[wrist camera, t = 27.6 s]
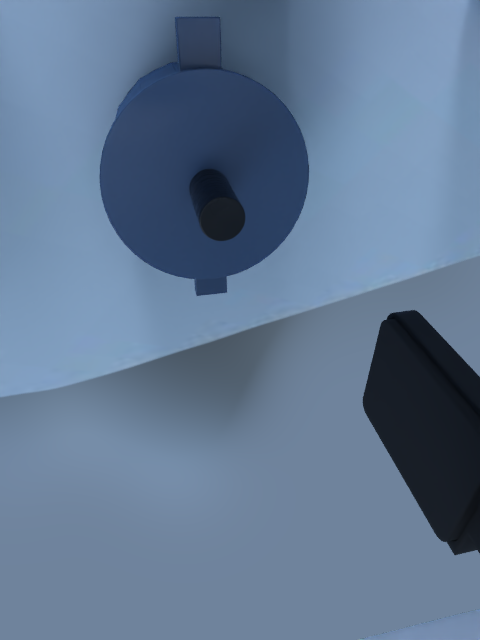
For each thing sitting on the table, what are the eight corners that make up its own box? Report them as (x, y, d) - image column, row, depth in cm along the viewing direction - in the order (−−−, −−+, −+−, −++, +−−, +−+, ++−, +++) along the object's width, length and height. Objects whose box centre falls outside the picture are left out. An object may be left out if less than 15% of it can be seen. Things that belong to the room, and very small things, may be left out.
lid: (313, 63, 25) (356, 77, 21) (296, 262, 33) (324, 306, 29) (78, 69, 23) (65, 86, 18) (120, 281, 31) (118, 331, 26)
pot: (273, 13, 30) (312, 16, 24) (265, 246, 40) (290, 290, 34) (89, 15, 28) (77, 18, 22) (131, 259, 38) (131, 308, 32)
